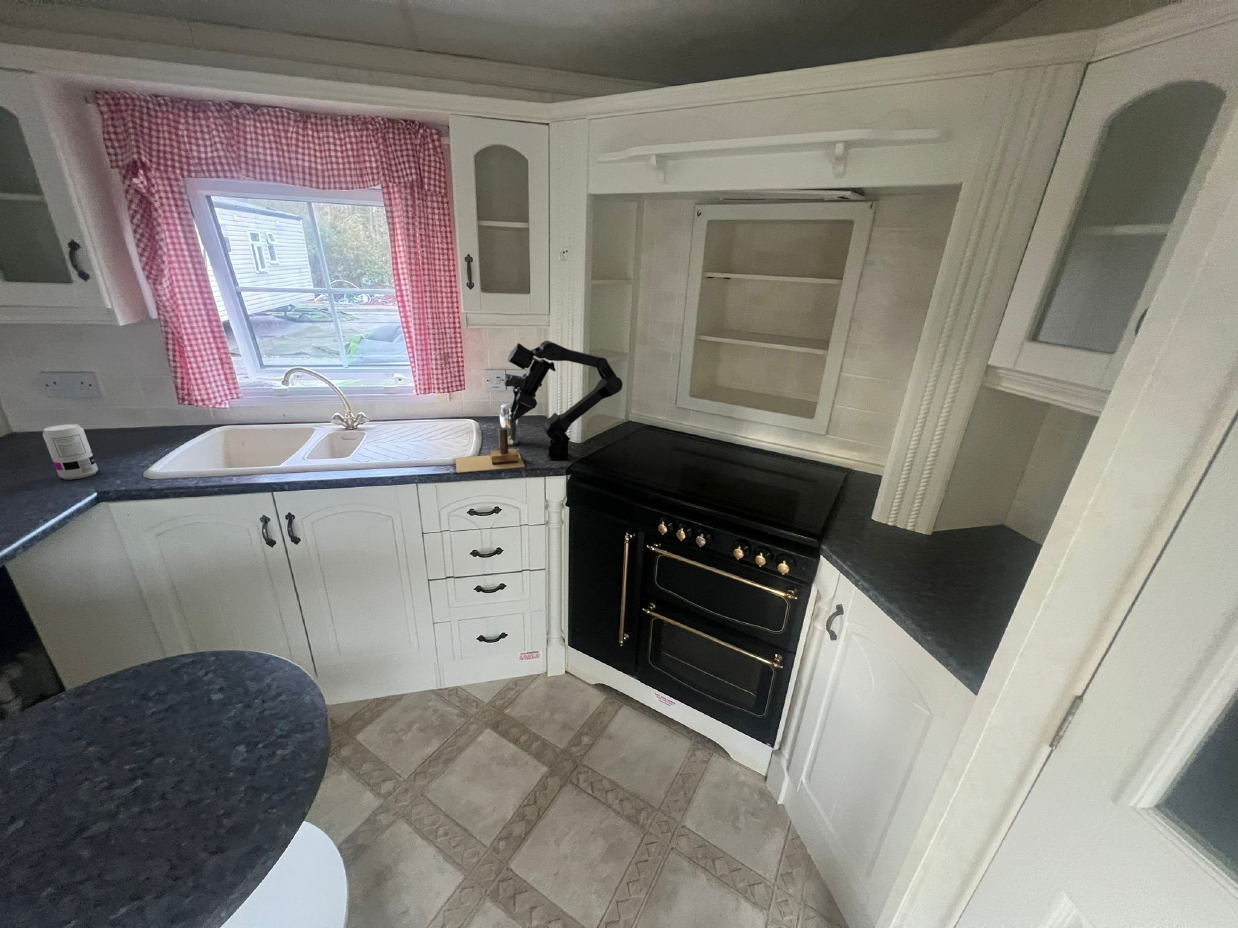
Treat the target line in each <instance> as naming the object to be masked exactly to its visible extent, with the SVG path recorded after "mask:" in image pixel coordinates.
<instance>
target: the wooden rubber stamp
mask: <svg viewBox="0 0 1238 928" xmlns="http://www.w3.org/2000/svg"><path fill="white" fill-rule="evenodd" d="M497 432H498V448H499V449H496V450H489V455H490V458H491V461H492V465H499V464H511V463H518V460H519V454H520V453H519V452H518V450H517V448H509V446H508V431H507V428H505V427H501V426H500V427H499V428H498V429H497ZM518 453H519V454H518Z"/></svg>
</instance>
